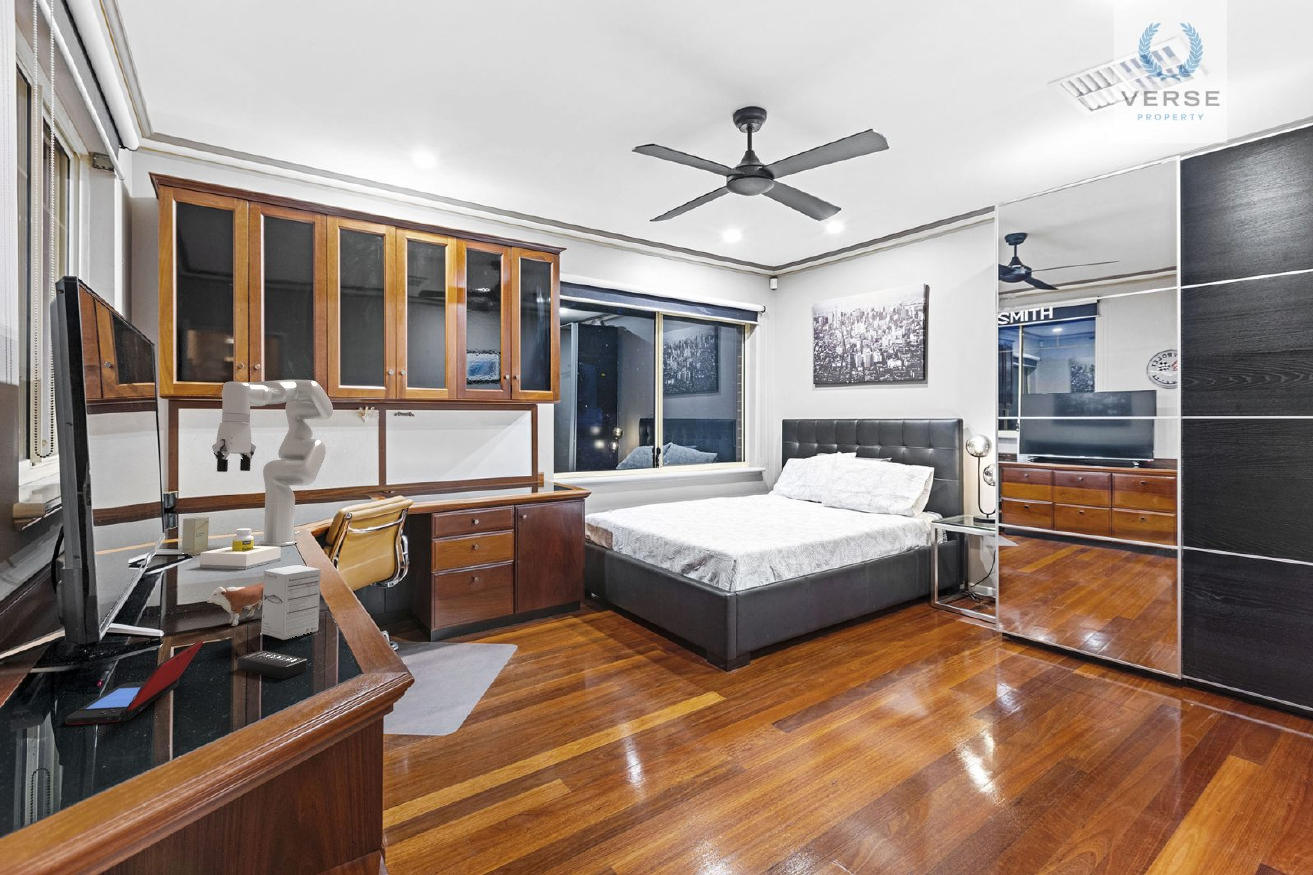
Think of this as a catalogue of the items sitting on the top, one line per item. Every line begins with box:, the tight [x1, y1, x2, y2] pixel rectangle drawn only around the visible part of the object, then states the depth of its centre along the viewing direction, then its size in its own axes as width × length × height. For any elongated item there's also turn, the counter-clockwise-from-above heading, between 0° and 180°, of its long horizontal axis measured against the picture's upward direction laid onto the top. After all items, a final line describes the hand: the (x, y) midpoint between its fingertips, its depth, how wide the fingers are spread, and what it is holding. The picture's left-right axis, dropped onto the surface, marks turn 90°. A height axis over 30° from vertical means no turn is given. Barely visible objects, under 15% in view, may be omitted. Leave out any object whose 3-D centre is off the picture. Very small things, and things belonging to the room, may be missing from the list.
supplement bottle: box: [231, 527, 255, 552], centre depth 187 cm, size 5×5×10 cm
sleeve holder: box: [199, 545, 282, 570], centre depth 186 cm, size 15×15×4 cm
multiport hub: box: [236, 650, 308, 680], centre depth 99 cm, size 4×11×2 cm, turn 70°
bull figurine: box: [206, 581, 264, 627], centre depth 126 cm, size 4×13×8 cm, turn 163°
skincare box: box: [181, 516, 210, 556], centre depth 202 cm, size 6×4×12 cm
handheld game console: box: [65, 639, 204, 726], centre depth 85 cm, size 12×11×7 cm
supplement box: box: [260, 564, 322, 641], centre depth 119 cm, size 7×7×13 cm
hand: (233, 471), depth 198 cm, fingers open, 9 cm apart
